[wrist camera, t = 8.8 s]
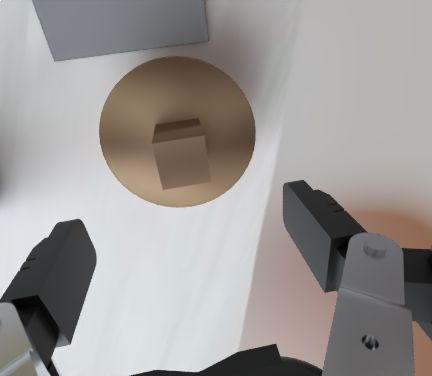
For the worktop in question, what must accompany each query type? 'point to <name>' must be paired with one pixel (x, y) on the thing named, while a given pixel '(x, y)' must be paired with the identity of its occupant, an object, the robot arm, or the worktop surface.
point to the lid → (177, 132)
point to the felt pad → (118, 25)
